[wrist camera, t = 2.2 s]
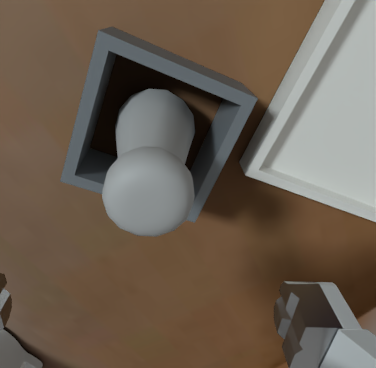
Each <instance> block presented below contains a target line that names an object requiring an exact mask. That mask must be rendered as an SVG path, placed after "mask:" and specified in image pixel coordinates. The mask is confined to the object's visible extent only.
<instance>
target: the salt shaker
mask: <svg viewBox="0 0 376 368" xmlns="http://www.w3.org/2000/svg"><path fill="white" fill-rule="evenodd" d="M115 130H116V143H117V156H118V159H117V160H116V161H115V162H114V163H113V164H112V165H111V167H110V168H109V170H108V172H107V174H106V178H105V182H104V186H103V190H102V199H103V202H104V205H105V209H106V212H107V215H108V216H109V217H110V218H111V219H112V220H113V221H114V222H115V224H116V225H117V226H118V227H119V228H121V229H123V230H125V231H128V232H130V233H133V234H135V235H137V236H159V235H162V234H165V233H168V232H171V231H174V230H175V229H176V228H177V227H178V226H180V225H181V224H182V223H183V222H184V221H185V220H187V218H188V216H189V213H190V211H191V208H192V205H193V202H194V197H195V195H194V187H193V178H192V175H191V172H190V171H189V170H188V168H187V167H186V166H185V163H186V159H187V156H188V152H189V149H190V146H191V143H192V140H193V137H194V134H195V126H194V115H193V114H192V112H191V111H190V109H189V108H188V107H187V105H186V104H185V102H184V101H183V100H182V99H181V98H179V97H178V96H176V95H174V94H173V93H171V92H170V91H168V90H162V89H146V90H144V91H141V92H138V93H136V94H133V95H131V96H130V97H129V99H128V100H127V101H126V102H125V103H124V104H123V106H122V107H121V108H120V109H119V113H118V117H117V121H116V125H115Z"/></svg>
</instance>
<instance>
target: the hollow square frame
mask: <svg viewBox="0 0 376 368" xmlns="http://www.w3.org/2000/svg"><path fill="white" fill-rule="evenodd" d="M117 54H118V55H121V56H123V57H125V58H128V59H130V60H133V61H135V62H137V63H140V64H142V65H145V66H147V67H149V68H152V69H154V70H157V71H159V72H161V73H164V74H166V75H169V76H171V77H173V78H176V79H178V80H181V81H183V82H186V83H188V84H190V85H193V86H195V87H198V88H200V89H202V90H205V91H207V92H210V93H212V94H214V95H217V96H219V97H222V98H223V100H222V102H221V104H220V107H219V109H218V111H217V113H216V115H215V117H214V120H213V122H212V124H211V126H210V128H209V130H208V133H207V135H206V137H205V139H204V141H203V144H202V146H201V148H200V150H199V152H198V154H197V157H196V159H195V161H194V163H193V165H192V168H191V170H190V172H191V175H192V178H193V187H194V195H195V197H194V202H193V205H192V208H191V211H190V213H189V216H188V218H187V220H188V221H192V222H195V221H196V219H197V217H198V215H199V213H200V211H201V209H202V207H203V205H204V203H205V201H206V200H207V198H208V196H209V194H210V192H211V190H212V188H213V186H214V184H215V182H216V180H217V178H218V176H219V174H220V172H221V170H222V168H223V166H224V164H225V162H226V160H227V158H228V156H229V154H230V152H231V150H232V148H233V146H234V145H235V143H236V141H237V139H238V137H239V135H240V133H241V131H242V129H243V127H244V125H245V123H246V121H247V119H248V117H249V115H250V113H251V111H252V109H253V107H254V105H255V103H256V101H257V99H258V98H257V97H256V96H255V95H254V94H253V93H252V92H250V91H249V90H248V89H247V88H246V87H245V86H244V85H243V84H242V83H240V82H238V81H236V80H234V79H231V78H229V77H227V76H224V75H222V74H220V73H217V72H215V71H213V70H211V69H208V68H206V67H204V66H201V65H199V64H197V63H194V62H192V61H190V60H188V59H185V58H183V57H181V56H178V55H176V54H174V53H172V52H169V51H167V50H165V49H162V48H160V47H158V46H155V45H153V44H151V43H149V42H146V41H144V40H142V39H139V38H137V37H135V36H132V35H130V34H128V33H126V32H123V31H121V30H119V29H116V28H114V27H109V28H105V29H101V30H98V34H97V38H96V42H95V46H94V50H93V54H92V58H91V62H90V66H89V70H88V74H87V77H86V81H85V85H84V89H83V93H82V97H81V101H80V105H79V109H78V113H77V117H76V121H75V125H74V129H73V133H72V137H71V141H70V145H69V149H68V153H67V157H66V160H65V164H64V168H63V172H62V176H61V180H60V181H61V182H64V183H67V184H71V185H74V186H77V187H80V188H84V189H87V190H90V191H93V192H97V193H100V194H102V190H103V186H104V182H105V178H106V174H107V172H108V170H109V168H110V167H111V165H112V164H113V163H114V162H115V161H116V160H117V159H118V157H115V156H112V155H109V154H107V153H104V152H101V151H98V150H95V149H92V148H90V146H91V143H92V139H93V136H94V132H95V129H96V125H97V122H98V118H99V115H100V111H101V108H102V104H103V101H104V97H105V94H106V90H107V87H108V83H109V80H110V76H111V73H112V69H113V66H114V62H115V59H116V55H117Z"/></svg>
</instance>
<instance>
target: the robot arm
mask: <svg viewBox="0 0 376 368" xmlns="http://www.w3.org/2000/svg"><path fill="white" fill-rule="evenodd" d="M6 284H7V281H6V278H5V275H4V274H2V273H0V368H42V366H43V364H42V362H41V361H40V360H39V359H37V358H36V357H34V356H32V355H31V354H29V353H27V352H26V351H25V350H24V349H23V348H22V347H21V345H20V344H19V343H18V341H17V340H16V339H15V338H14V337H13V336H12V335H11V334H9V333H8V332H7V331H5V330H4V329H3V328H4V327H5V325H6V323H7V321H8V319H9V316H10V312H11V308H12V299H11V295H10V293H9V292H8V291H6V290H5V289H4V287H5V285H6ZM279 291H280V294H281V297H280V298H279V299H277V300H276V302H275V306H274V322H275V327H276V330H277V333H278V334H279V335H280V336H281V337H282V338H283V339H284V342H283V345H282V349H283V352H284V355H285V358H286V361H287V364H288V367H289V368H376V336H375V335H374V334H373V333H371V332H370V331H369V330H367V329H362V328H361V326H360V325H359V323H358V321H357V319H356V318H355V316H354V314H353V313H352V311H351V309H350V308H349V306H348V304H347V303H346V301H345V299H344V298H343V296H342V294H341V293H340V291H339V289H338V288H337V286H336V285H335V284H334V283H333V282H291V281H284V282H283V283H282V284H281V286H280V289H279Z"/></svg>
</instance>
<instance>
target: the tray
mask: <svg viewBox="0 0 376 368" xmlns="http://www.w3.org/2000/svg"><path fill="white" fill-rule="evenodd" d="M239 163H240V166H241V168H242V170H243V172H244V174H245V175H246V176H249V177H251V178H254V179H257V180H260V181H263V182H265V183H268V184H271V185H274V186H277V187H279V188H282V189H285V190H288V191H290V192H293V193H296V194H299V195H302V196H304V197H307V198H310V199H313V200H316V201H318V202H321V203H324V204H327V205H329V206H332V207H335V208H338V209H341V210H343V211H346V212H349V213H352V214H355V215H357V216H360V217H363V218H366V219H369V220H371V221H374V222H376V0H325V1H324V3H323V5H322V7H321V9H320V10H319V12H318V14H317V16H316V18H315V20H314V22H313V24H312V26H311V27H310V29H309V31H308V33H307V35H306V37H305V39H304V41H303V42H302V44H301V46H300V48H299V50H298V52H297V54H296V56H295V58H294V59H293V61H292V63H291V65H290V67H289V69H288V71H287V73H286V75H285V76H284V78H283V80H282V82H281V84H280V86H279V88H278V90H277V91H276V93H275V95H274V97H273V99H272V101H271V103H270V105H269V107H268V108H267V110H266V112H265V114H264V116H263V118H262V120H261V122H260V124H259V125H258V127H257V129H256V131H255V133H254V135H253V137H252V139H251V140H250V142H249V144H248V146H247V148H246V150H245V152H244V154H243V156H242V157H241V159H240V161H239Z"/></svg>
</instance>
